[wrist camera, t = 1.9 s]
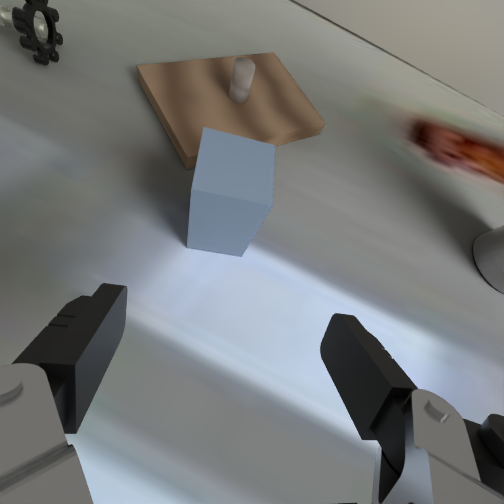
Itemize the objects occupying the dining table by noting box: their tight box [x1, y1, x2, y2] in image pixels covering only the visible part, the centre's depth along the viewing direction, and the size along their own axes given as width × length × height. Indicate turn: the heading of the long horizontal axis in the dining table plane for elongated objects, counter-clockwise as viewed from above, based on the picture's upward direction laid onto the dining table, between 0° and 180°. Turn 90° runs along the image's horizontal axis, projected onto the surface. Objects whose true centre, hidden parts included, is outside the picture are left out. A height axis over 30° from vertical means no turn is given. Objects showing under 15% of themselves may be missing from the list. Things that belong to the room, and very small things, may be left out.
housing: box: [187, 127, 276, 257], centre depth 23 cm, size 6×6×10 cm
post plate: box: [137, 53, 325, 170], centre depth 32 cm, size 20×14×6 cm
